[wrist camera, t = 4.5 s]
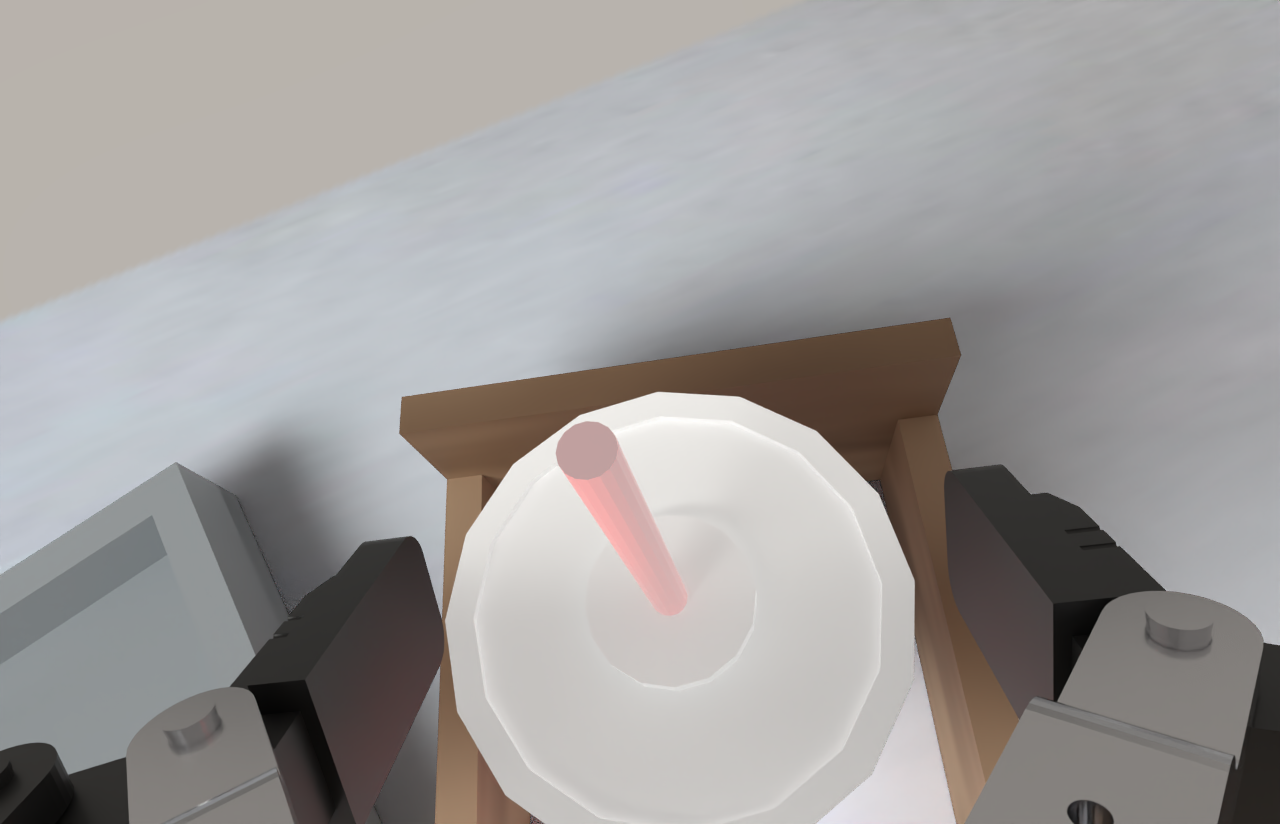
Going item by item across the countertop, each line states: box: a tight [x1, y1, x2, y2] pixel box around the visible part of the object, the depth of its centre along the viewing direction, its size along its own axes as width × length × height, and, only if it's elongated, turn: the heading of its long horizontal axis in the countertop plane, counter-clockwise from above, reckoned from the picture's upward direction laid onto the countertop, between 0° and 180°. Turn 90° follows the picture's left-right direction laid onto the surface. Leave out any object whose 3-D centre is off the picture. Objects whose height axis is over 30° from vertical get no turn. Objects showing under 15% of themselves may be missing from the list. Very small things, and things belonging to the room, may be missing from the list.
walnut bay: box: [399, 318, 1019, 824], centre depth 16 cm, size 10×11×6 cm
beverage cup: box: [445, 392, 915, 824], centre depth 12 cm, size 6×6×14 cm
